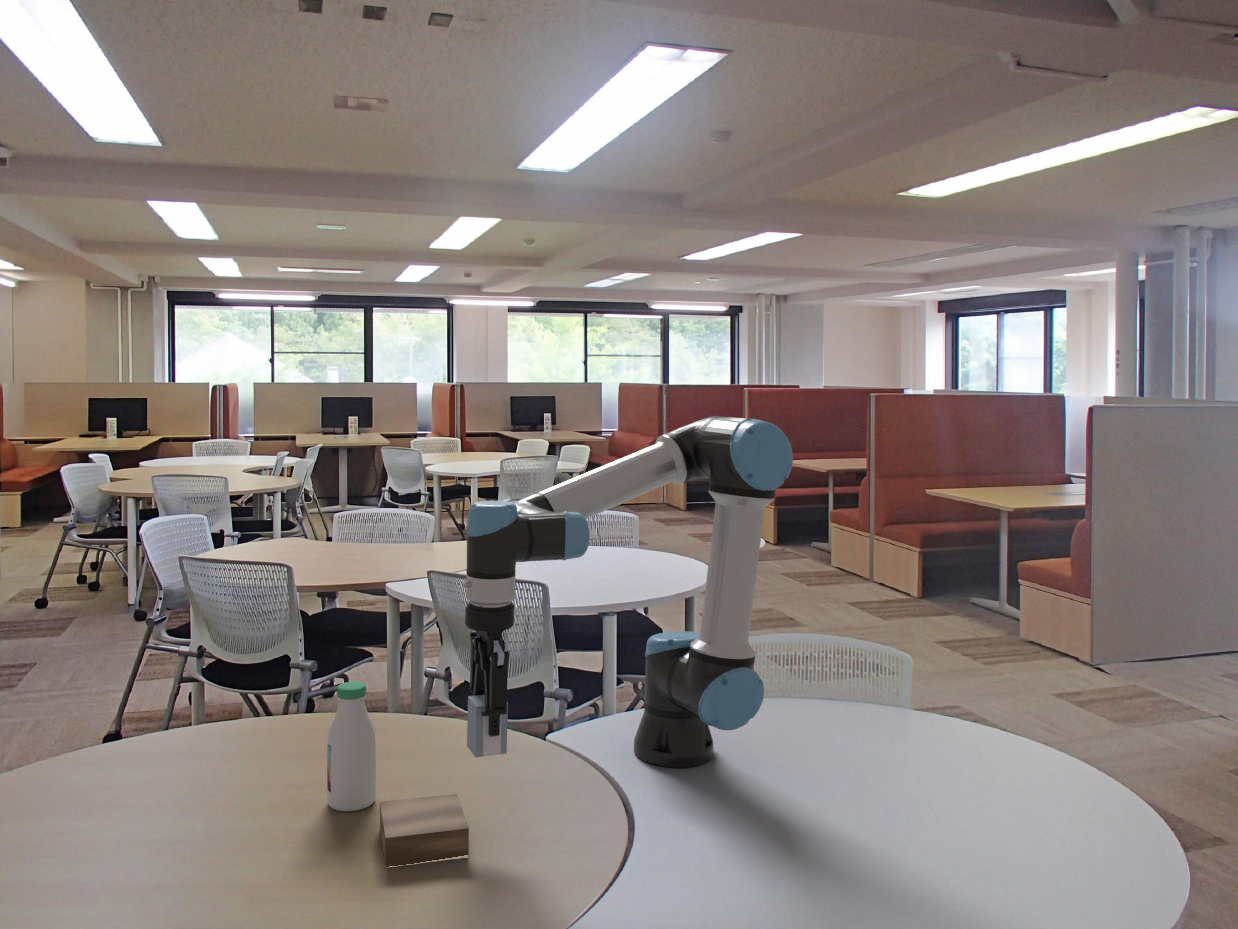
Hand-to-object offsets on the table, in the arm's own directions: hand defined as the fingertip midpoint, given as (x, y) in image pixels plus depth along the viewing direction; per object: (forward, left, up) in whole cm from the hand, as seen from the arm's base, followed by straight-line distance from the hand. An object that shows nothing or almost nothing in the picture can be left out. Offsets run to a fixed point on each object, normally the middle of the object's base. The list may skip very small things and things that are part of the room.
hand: (486, 747), depth 154 cm
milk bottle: (-16, -18, -13) cm, 28 cm away
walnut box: (+2, -10, -14) cm, 17 cm away
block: (0, 0, 0) cm, 0 cm away
